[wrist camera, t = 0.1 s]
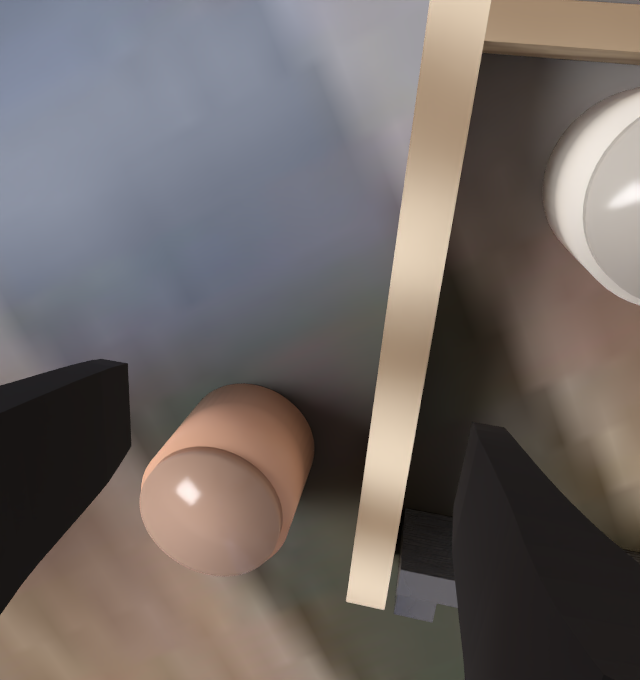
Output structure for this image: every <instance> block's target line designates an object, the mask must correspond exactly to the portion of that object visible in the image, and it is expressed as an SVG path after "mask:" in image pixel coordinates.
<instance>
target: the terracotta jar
mask: <svg viewBox="0 0 640 680" xmlns="http://www.w3.org/2000/svg"><path fill="white" fill-rule="evenodd" d="M314 450H315V446H314V439H313V435H312V431H311V429H310V427H309V424H308V423H307V421H306V419H305V417H304V416H303V415H302V413H301V412H300V411H299V410H298V409H297V408H296V406H295V405H294V404H293V403H291V402H290V401H289V400H288V399H286V398H285V397H283V396H282V395H280V394H279V393H277V392H275V391H273V390H270V389H268V388H265V387H262V386H258V385H253V384H232V385H227V386H223V387H220V388H218V389H216V390H214V391H212V392H210V393H209V394H207V395H206V396H205V397H204V398H203V399H202V400H201V401H200V402H199V403H198V405H197V406H196V407H195V408H194V409H193V411H192V412H191V413H190V414H189V416H188V417H187V418H186V419H185V420H184V422H183V423H182V424H181V425H180V427H179V428H178V429H177V430H176V431H175V433H174V434H173V435H172V436H171V437H170V439H169V440H168V441H167V442H166V444H165V445H164V446H163V447H162V448H161V450H160V451H159V452H158V453H157V454H156V456H155V457H154V458H153V459H152V461H151V462H150V463H149V465H148V466H147V468H146V470H145V473H144V475H143V479H142V484H141V494H140V513H141V516H142V520H143V523H144V525H145V528H146V529H147V531H148V533H149V535H150V536H151V538H152V539H153V541H154V542H155V543H156V544H157V545H158V547H159V548H160V549H161V550H162V551H163V552H165V553H166V554H167V555H168V556H169V557H171V558H172V559H173V560H175V561H176V562H178V563H180V564H181V565H183V566H185V567H187V568H189V569H192V570H194V571H197V572H200V573H204V574H208V575H214V576H235V575H241V574H244V573H247V572H250V571H252V570H254V569H256V568H257V567H259V566H260V565H262V564H263V563H264V562H265V561H266V560H268V559H269V558H271V557H272V556H273V555H274V554H275V553H276V552H277V551H278V550H279V549H280V548H281V546H282V545H283V543H284V541H285V539H286V537H287V534H288V531H289V528H290V525H291V523H292V520H293V517H294V514H295V511H296V508H297V506H298V503H299V500H300V497H301V494H302V491H303V489H304V486H305V483H306V480H307V477H308V474H309V472H310V469H311V466H312V463H313V459H314Z"/></svg>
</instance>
